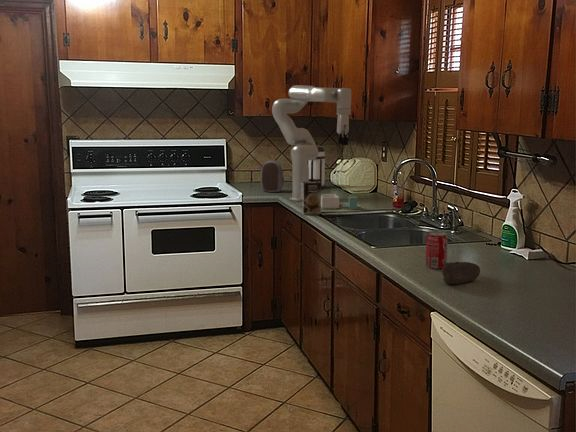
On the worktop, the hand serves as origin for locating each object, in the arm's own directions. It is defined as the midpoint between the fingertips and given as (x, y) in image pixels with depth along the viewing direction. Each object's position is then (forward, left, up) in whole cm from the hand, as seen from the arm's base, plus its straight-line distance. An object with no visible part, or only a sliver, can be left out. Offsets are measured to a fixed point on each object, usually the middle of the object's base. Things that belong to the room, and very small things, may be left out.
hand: (342, 144), depth 326 cm
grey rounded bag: (-53, -34, -34) cm, 71 cm away
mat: (+4, +4, -33) cm, 34 cm away
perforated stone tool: (+143, +12, -34) cm, 147 cm away
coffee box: (+22, -20, -34) cm, 45 cm away
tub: (+3, -7, -33) cm, 34 cm away
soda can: (+125, +10, -34) cm, 130 cm away
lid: (+5, +4, -33) cm, 34 cm away
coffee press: (-67, -5, -34) cm, 75 cm away
